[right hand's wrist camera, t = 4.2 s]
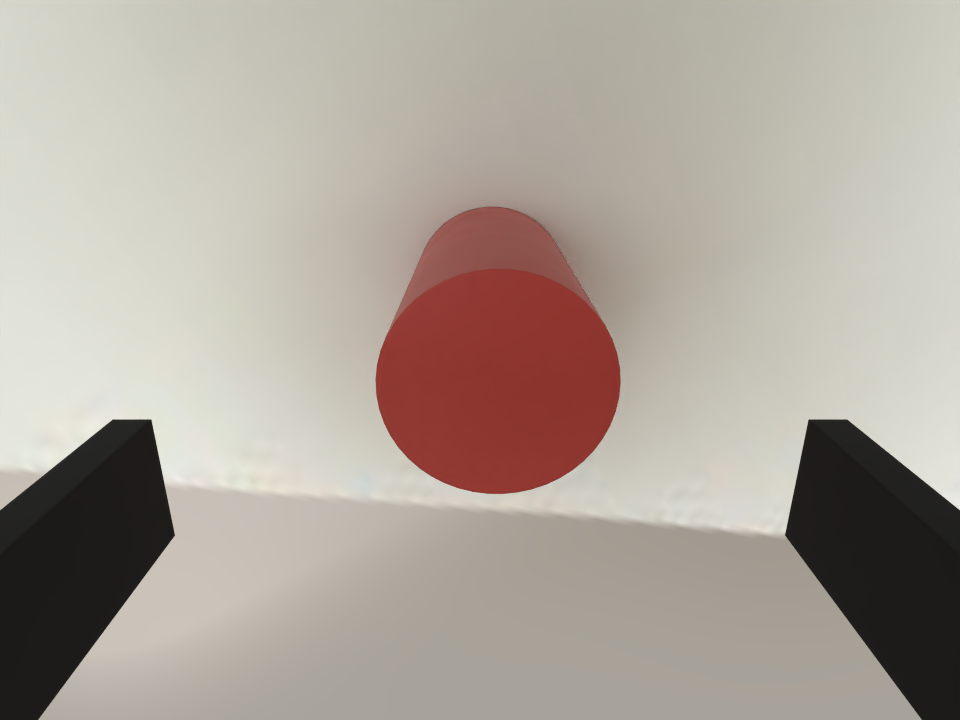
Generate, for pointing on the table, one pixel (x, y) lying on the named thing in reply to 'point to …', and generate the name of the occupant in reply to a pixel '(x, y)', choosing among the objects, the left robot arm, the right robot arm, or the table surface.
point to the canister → (496, 359)
